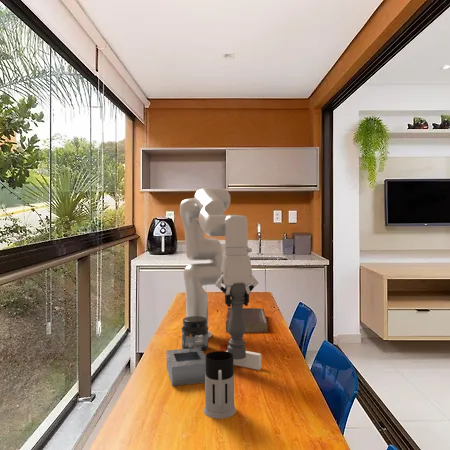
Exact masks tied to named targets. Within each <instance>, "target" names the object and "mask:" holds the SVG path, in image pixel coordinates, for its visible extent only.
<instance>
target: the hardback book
mask: <svg viewBox="0 0 450 450" xmlns="http://www.w3.org/2000/svg"><path fill="white" fill-rule="evenodd" d="M230 316H231V307H227V312H226V320H225V332H226V333H229V332H228V325H229V321H230ZM243 317H244V322H245V326H246V331H245V333H269V325H268V322H267V318H266V317H267V316H266V313H265V310H264V308H253V307H252V308H250V307H249V308H248V307H247V308H246V307H245V308H244V307H243Z"/></svg>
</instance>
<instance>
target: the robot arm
mask: <svg viewBox="0 0 450 450" xmlns="http://www.w3.org/2000/svg"><path fill="white" fill-rule="evenodd" d="M230 204H231V194H230V193H229V191H228V190H227V189H225V188H222V187H221V188H220V187H218V188H217V187H203V188H200V189H198V190H197V191H196V192H195V194H194V197H192V198H191V197H190V198H186V199H183V200H182V201H181V202H180V204H179V216H180V219H181V222H182V224H183V225H182V226H183V228H184V240H185V241H184V242H185V255H186V257H187V259H188V260H190V261H210V262H205V263H204V262H202V263H201V262H200V263H191V264H188V265H187V266H185V267H184V269H183V279H184V285H185V303H186V304H185V307H186V308H185V310H186V313H185V315H186V317H190V316H202V317H205V318H207V324H206V325H207V326H208V327H209V296H208V292H207V291H206V290H205V289H204V287H203V286H207V285H208V286H210V285H215V286H216V287H217V288H218V289H219V290H220V291H221V292H222V293H223V294H224V303H225V305H226V306H227V308H231V299H232V298H231V295H230V289H231V286H233V284H242V283H245V289H246V292H245V295H244V297H243V299H244V300H245V303H243V306H246V307H248V305H249V303H250V294H251V292H252V291H253V290H254V288H255V287H256V286H257V285H258V284H259V281H258V280H257V279H256V278H255V276H254V275H253V267H252V263H251V257H250V255H249V253H252V252H253V251H252V250H253V249H252V247H249V245H248V244H249V243H248V239H249V238H248V235H249V234H248V231H249V230H248V218H247V216H245V215H243V214H242V215H241V214H240V215H237V214H225V211H227V209H228V208H229V207H230ZM205 235H207V236H208V237H212V238H208V237H207V238H206V236H205ZM213 237H225V238H224V239H225V241H224V242H225V244H224V245H225V248H224V249H225V251H224V252H225V254H224V255H223V247H222V244H221V242H220V240H219V239H217V238H213ZM221 284H222V285H224V286H222V285H221ZM186 317H185V318H186ZM212 336H213V333H212V331H210V330H208V339H210V338H211V337H212Z"/></svg>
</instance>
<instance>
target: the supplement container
mask: <svg viewBox="0 0 450 450" xmlns="http://www.w3.org/2000/svg"><path fill="white" fill-rule="evenodd" d="M206 324H207V318H205V317H202V316H190V317H184V318H182V326H181V349H189V348H200V347H201V349H202V351H203V352H205V351H206V350H208V348H209V338H208V331H209V325H208V326H207V325H206Z"/></svg>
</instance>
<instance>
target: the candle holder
mask: <svg viewBox="0 0 450 450" xmlns="http://www.w3.org/2000/svg"><path fill="white" fill-rule="evenodd" d="M245 292H246V289H245V283H242V284H233V286H231V289H230V292H229V293H230V295H231V306H230V308H231V316H230V321H229V325H228V332H227V333H228V334H229V335H230V339H228V345H227V350H228V352H230V353H232V354H233V359H243V358H245V357H246V351H247V347H246V345H245V344H246V341H245V339H244V334H245V333H246V332H245V331H246V326H245V322H244V317H243V308H244V304H243V303H245V300H244V299H243V297H244V295H245Z"/></svg>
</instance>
